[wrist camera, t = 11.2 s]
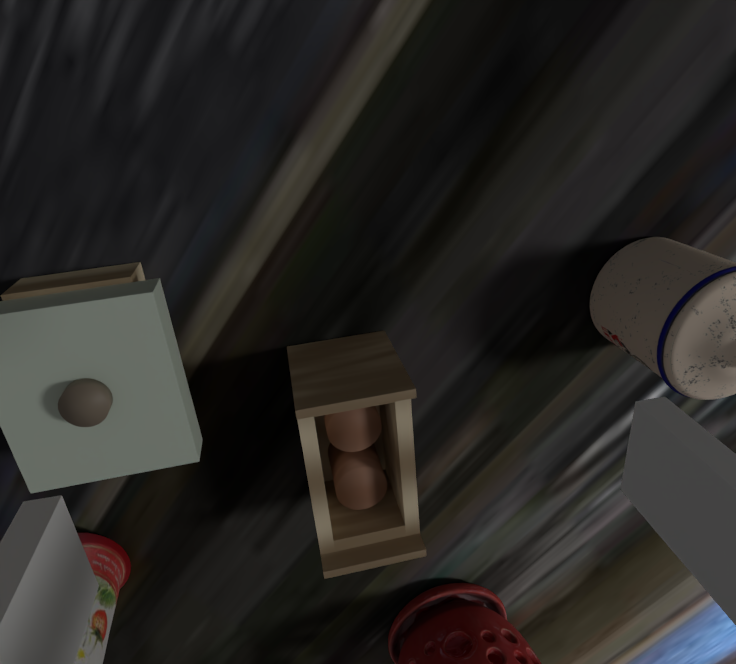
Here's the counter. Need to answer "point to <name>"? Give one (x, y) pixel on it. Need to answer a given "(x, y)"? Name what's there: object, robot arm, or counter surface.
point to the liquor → (102, 594)
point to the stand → (75, 281)
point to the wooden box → (358, 450)
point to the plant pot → (457, 629)
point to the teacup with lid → (671, 314)
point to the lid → (94, 386)
